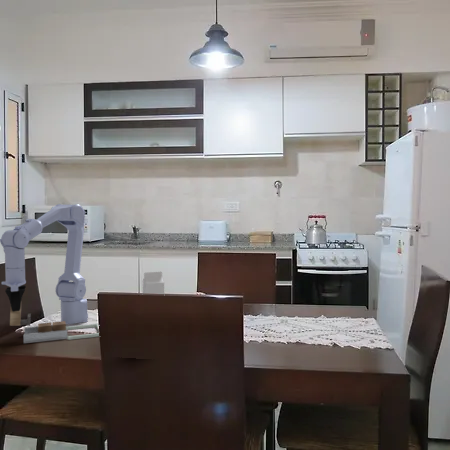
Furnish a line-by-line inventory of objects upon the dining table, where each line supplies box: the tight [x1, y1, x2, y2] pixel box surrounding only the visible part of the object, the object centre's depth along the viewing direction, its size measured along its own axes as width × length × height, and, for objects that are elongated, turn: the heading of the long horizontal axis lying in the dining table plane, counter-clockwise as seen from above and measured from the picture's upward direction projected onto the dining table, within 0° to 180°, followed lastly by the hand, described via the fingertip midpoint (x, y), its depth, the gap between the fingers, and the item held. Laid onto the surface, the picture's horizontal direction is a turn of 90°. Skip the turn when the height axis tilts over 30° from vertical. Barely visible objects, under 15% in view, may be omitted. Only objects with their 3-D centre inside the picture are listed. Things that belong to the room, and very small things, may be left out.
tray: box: [66, 323, 100, 341], centre depth 154 cm, size 11×13×2 cm
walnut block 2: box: [52, 320, 67, 331], centre depth 151 cm, size 4×4×4 cm
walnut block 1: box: [37, 322, 53, 333], centre depth 150 cm, size 4×4×4 cm
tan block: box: [9, 305, 32, 327], centre depth 147 cm, size 6×5×9 cm
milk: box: [142, 271, 165, 295], centre depth 150 cm, size 6×6×22 cm
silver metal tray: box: [22, 324, 68, 344], centre depth 150 cm, size 13×10×3 cm
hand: (16, 309), depth 146 cm, fingers closed on tan block, 3 cm apart
